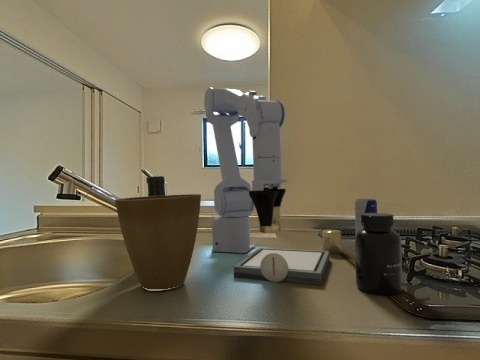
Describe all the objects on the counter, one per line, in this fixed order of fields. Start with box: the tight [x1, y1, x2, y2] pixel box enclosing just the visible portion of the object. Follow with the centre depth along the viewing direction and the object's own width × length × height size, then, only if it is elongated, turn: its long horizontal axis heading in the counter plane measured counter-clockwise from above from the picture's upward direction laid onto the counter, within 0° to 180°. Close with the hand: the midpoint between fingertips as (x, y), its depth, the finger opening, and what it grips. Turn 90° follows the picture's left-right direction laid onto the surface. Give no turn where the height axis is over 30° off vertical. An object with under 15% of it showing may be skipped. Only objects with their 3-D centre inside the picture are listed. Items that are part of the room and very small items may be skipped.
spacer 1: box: [258, 206, 282, 234], centre depth 63 cm, size 4×4×5 cm
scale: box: [233, 247, 330, 286], centre depth 61 cm, size 16×17×5 cm
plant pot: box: [114, 193, 202, 289], centre depth 55 cm, size 15×15×16 cm
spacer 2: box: [321, 229, 343, 255], centre depth 74 cm, size 4×4×5 cm
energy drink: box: [354, 198, 378, 234], centre depth 79 cm, size 5×5×12 cm
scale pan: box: [243, 250, 322, 271], centre depth 62 cm, size 13×13×1 cm
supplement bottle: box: [354, 212, 403, 296], centre depth 49 cm, size 7×7×12 cm
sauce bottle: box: [145, 175, 166, 196], centre depth 70 cm, size 6×6×20 cm
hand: (269, 224), depth 63 cm, fingers closed on spacer 1, 4 cm apart
